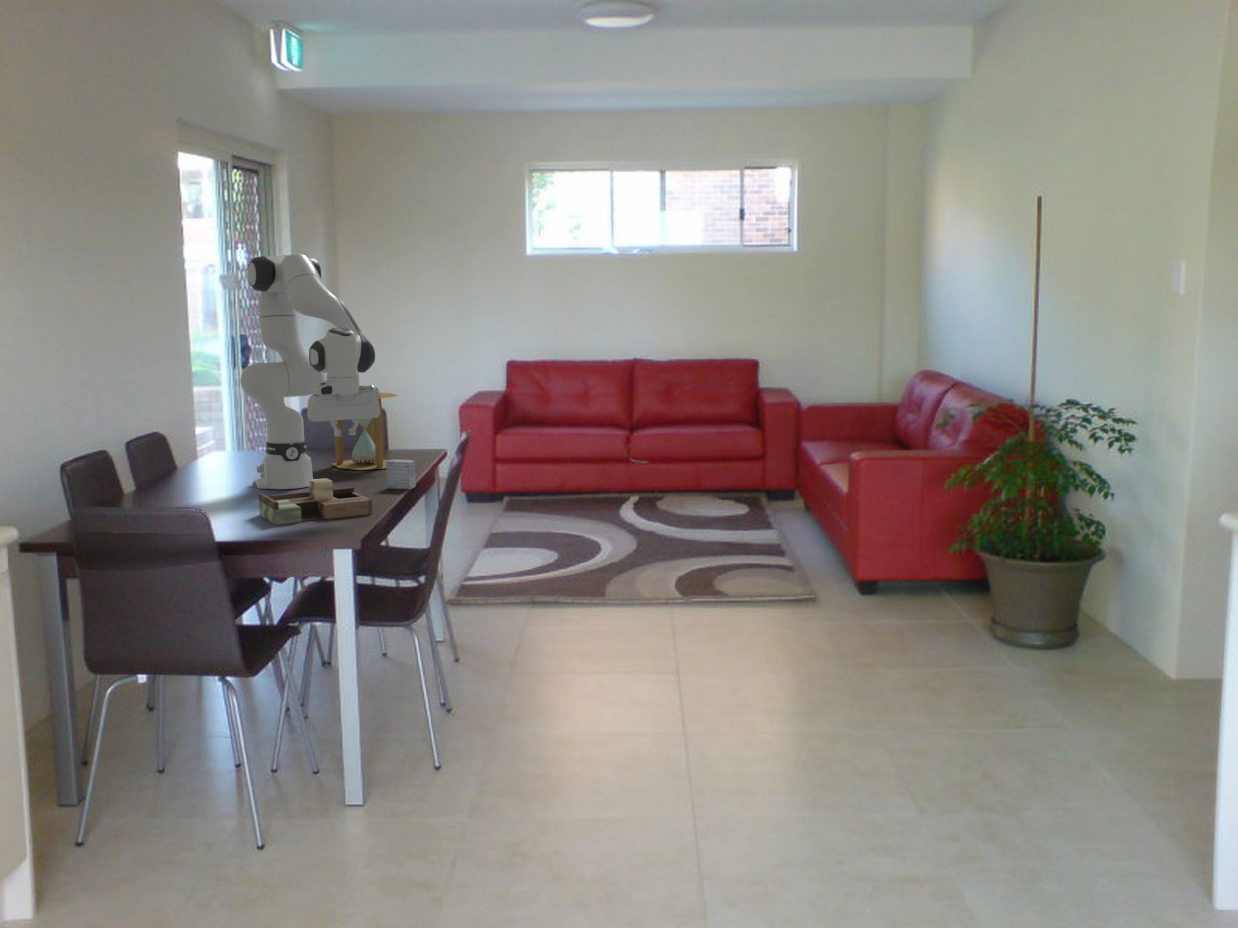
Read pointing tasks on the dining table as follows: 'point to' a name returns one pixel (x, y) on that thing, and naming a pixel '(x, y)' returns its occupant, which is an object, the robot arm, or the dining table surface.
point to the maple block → (321, 489)
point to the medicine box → (400, 474)
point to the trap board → (313, 506)
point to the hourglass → (364, 444)
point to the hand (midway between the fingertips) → (345, 435)
